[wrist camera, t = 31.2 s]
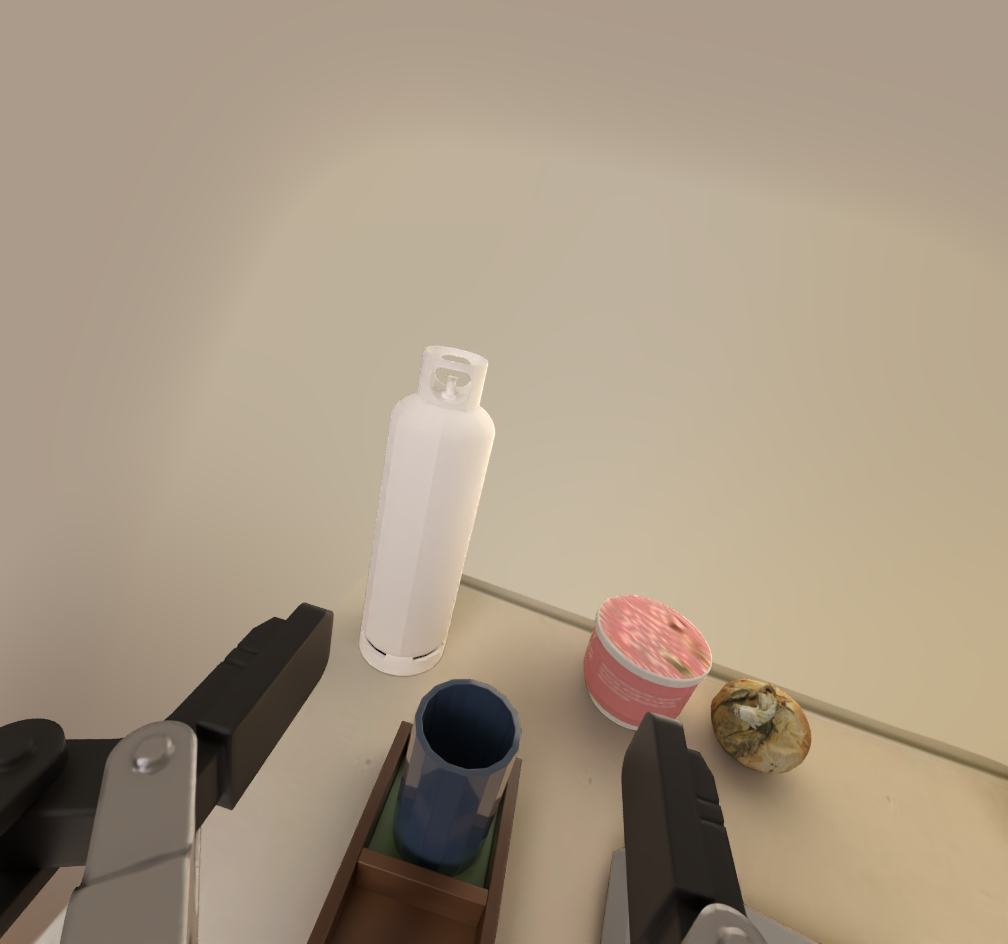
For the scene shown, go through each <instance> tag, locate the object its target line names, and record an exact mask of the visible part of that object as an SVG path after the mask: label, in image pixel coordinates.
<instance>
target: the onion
mask: <svg viewBox="0 0 1008 944" xmlns="http://www.w3.org/2000/svg"><path fill="white" fill-rule="evenodd" d="M711 721H712V725H713V729H714V732H715V734H716V736H717V738H718V740H719V741H720V743H721V744H722V745H723V747H724V748H725V749H726V750H727V751H728V752H729V753H730V754H731V755H732V756H733V757H734V758H736V759H737V760H738V761H739V762H740V763H741V764H743V765H745V766H747V767H750V768H753V769H756V770H759V771H762V772H765V773H768V774H778V773H783V772H786V771H789V770H791V769H793V768H795V767H797V766H798V765H800V764H801V763H802V762H803V760H804V759H805V757H806V756H807V754H808V752H809V749H810V745H811V730H810V727H809V724H808V721H807V718H806V716H805V714H804V713H803V711H802V709H801V707H800V706H799V705H798V704H797V703H796V702H795V701H794V700H793V699H792V698H791V697H790V696H789V695H787V694H786V693H784V692H783V691H782V690H780V689H778V688H777V687H775V686H773V685H771V684H770V683H769V684H766V683H763V682H759V681H755V680H749V679H747V678H743V679H738V680H735V681H732V682H729V683H728V684H726V685H725V686H724V687H723V688H722V689H721V691H720V692H719V693H718V694H717V695H716V696H715V698H714V699H713V701H712V704H711Z"/></svg>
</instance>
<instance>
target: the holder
mask: <svg viewBox="0 0 1008 944" xmlns="http://www.w3.org/2000/svg"><path fill="white" fill-rule="evenodd" d="M412 728H413V725H412V724H411V723H408V722H405V721H402V723H401V725H400V727H399V730H398V732H397V734H396V737H395V739H394V741H393V744H392V746H391V748H390V751H389V753H388V756H387V758H386V760H385V763H384V765H383V767H382V770H381V772H380V774H379V777H378V779H377V781H376V784H375V786H374V788H373V791H372V793H371V795H370V798H369V800H368V802H367V805H366V807H365V809H364V812H363V814H362V816H361V819H360V821H359V823H358V826H357V828H356V830H355V833H354V835H353V837H352V840H351V842H350V844H349V847H348V849H347V851H346V854H345V856H344V858H343V861H342V863H341V865H340V868H339V870H338V872H337V875H336V877H335V879H334V882H333V884H332V886H331V889H330V891H329V893H328V896H327V898H326V900H325V903H324V905H323V907H322V910H321V912H320V914H319V917H318V919H317V921H316V924H315V926H314V928H313V931H312V933H311V935H310V938H309V940H308V942H307V944H495V938H496V931H497V924H498V918H499V911H500V904H501V898H502V891H503V884H504V877H505V871H506V864H507V857H508V850H509V844H510V837H511V830H512V824H513V817H514V810H515V803H516V797H517V790H518V783H519V777H520V770H521V763H522V760H521V759H518V758H515V761H514V764H513V767H512V769H511V772H510V775H509V778H508V780H507V783H506V786H505V789H504V791H503V794H502V797H501V800H500V803H499V805H498V808H497V811H496V814H495V816H494V819H493V822H492V825H491V827H490V830H489V833H488V836H487V838H486V841H485V844H484V846H483V847H482V849H481V852H480V854H479V856H478V857H477V859H476V860H475V862H474V863H473V864H472V865H471V866H470V867H469V868H468V869H467V870H465V871H464V872H463V873H461V874H459V875H457V876H454V877H449V876H446V875H443V874H440V873H438V872H435V871H432V870H429V869H426V868H423V867H420V866H417V865H414V864H411V863H409V862H406V861H403V860H402V858H401V857H400V855H399V853H398V851H397V849H396V846H395V843H394V838H393V829H392V828H393V818H394V809H395V805H396V800H397V796H398V791H399V787H400V782H401V778H402V773H403V769H404V764H405V760H406V755H407V750H408V746H409V741H410V737H411V732H412Z"/></svg>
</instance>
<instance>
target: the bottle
mask: <svg viewBox="0 0 1008 944" xmlns="http://www.w3.org/2000/svg"><path fill="white" fill-rule="evenodd" d="M444 355H453V356H458V357H462V358H466V359H467V360H468V361H470V364H463V363H457V362H453V361H449V360H445V359H442V358H441V357H442V356H444ZM487 367H488V360H487V359H485V358H484V357H482V356H479V355H477V354H474V353H471V352H468V351H465V350H461V349H456V348H451V347H444V346H427V347H425V348H424V353H423V359H422V365H421V372H420V378H419V384H418V390H417V393H413V394H410V395H408V396H407V397H405V398H403V399H401V400H400V401H399V402H398V403H397V404H396V405H395V407H394V408H393V410H392V411H391V418H390V426H389V432H388V439H387V447H386V455H385V461H384V468H383V476H382V482H381V490H380V497H379V505H378V512H377V518H376V526H375V533H374V540H373V547H372V554H371V561H370V568H369V575H368V583H367V590H366V597H365V604H364V611H363V621H362V626H361V633H360V642H359V647H360V650H361V653H362V656H363V657H364V658H365V659H366V661H367V662H368V663H369V664H370V665H371V666H373V667H374V668H376V669H378V670H379V671H381V672H384V673H387V674H391V675H395V676H412V675H416V674H419V673H423V672H425V671H427V670H428V669H430V668H432V667H433V666H435V665H436V663H437V662H438V661H439V660H440V659H441V657H442V654H443V651H444V648H445V643H446V639H447V633H448V630H449V626H450V622H451V618H452V614H453V610H454V605H455V601H456V597H457V593H458V588H459V584H460V580H461V576H462V572H463V567H464V563H465V559H466V555H467V550H468V546H469V542H470V538H471V534H472V529H473V525H474V520H475V517H476V512H477V508H478V504H479V500H480V495H481V491H482V487H483V483H484V479H485V474H486V470H487V466H488V461H489V457H490V453H491V449H492V445H493V441H494V436H495V428H494V423H493V421H492V419H491V417H490V416H489V414H488V413H487V412H486V410H484V409H483V408H482V407H481V406H479V404H480V400H481V395H482V390H483V386H484V381H485V376H486V372H487ZM438 368H447V369H451V370H455V371H461V372H465V373H467V374H468V375H469V377H470V379H471V380H470V382H469V383H468V384H467V385H465V386H464V387H457V386H456V381H457V379H458V377H454V376H450V375H447V376H446V377H449V378H448V380H447V384H443V383H441V382H440V381H439V380H438V379H437V376H436V372H435V370H437V369H438ZM458 380H459V379H458ZM432 389H444V390H446V391H443V390H432ZM454 392H458V393H461V394H464V395H466V396H467V397H466V396H463V395H460V394H457V393H454ZM367 639H368V640H369V641H370V642H371V644H372V645H373V646H374V647H375V648H377V649H379V650H380V651H382V652H384V653H386V655H383V654H382V653H380V652H378V651H377V650H375V649H374V648H373V646H372V645H371V644H370V643H369V642H368V640H367ZM435 649H436V650H435ZM433 650H435V651H434V652H432V653H430V652H431V651H433ZM428 653H430V654H428ZM426 654H428V655H427V656H425V657H422V658H417V659H413V657H418V656H422V655H426Z"/></svg>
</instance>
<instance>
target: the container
mask: <svg viewBox="0 0 1008 944" xmlns="http://www.w3.org/2000/svg"><path fill="white" fill-rule="evenodd" d="M711 664H712V655H711V651H710V648H709V646H708V643H707V642H706V640H705V638H704V637H703V635H702V634H701V633H700V632H699V630H698V629H697V628H696V627H695V626H694V625H693V624H692V623H690V621H689V620H687V619H686V618H685V617H683V616H682V615H681V614H680V613H678V612H676V611H674V610H673V609H671V608H670V607H668V606H666V605H664V604H661V603H660V602H657V601H654V600H652V599H649V598H645V597H641V596H634V595H619V596H614V597H612V598H609V599H607V600H606V601H605V602H603V603H602V604H601V606H600V608H599V609H598V612H597V614H596V618H595V626H594V629H593V632H592V635H591V638H590V641H589V644H588V647H587V651H586V654H585V657H584V674H585V680H586V684H587V688H588V692H589V695H590V697H591V699H592V701H593V703H594V704H595V705H596V707H597V708H598V709H599V710H600V711H601V712H602V713H603V714H604V715H605V716H606V717H607V718H609V719H610V720H611V721H613V722H615V723H616V724H618V725H620V726H622V727H625V728H628V729H632V730H637V729H638V727H639V725H640V723H641V721H642V719H643V717H644V715H645V714H646V713H647V712H653V713H656V714H659V715H662V716H665V717H669V718H672V719H675V718H676V717H677V716H678V715H679V714H680V712H681V711H682V709H683V707H684V706H685V704H686V703H687V701H688V700H689V698H690V696H691V695H692V693H693V692H694V690H695V688H696V687H697V685H698V684H699V683H700V682H701V681H703V680H704V679H705V677H706V676H707V674H708V672H709V670H710V669H711Z"/></svg>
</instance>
